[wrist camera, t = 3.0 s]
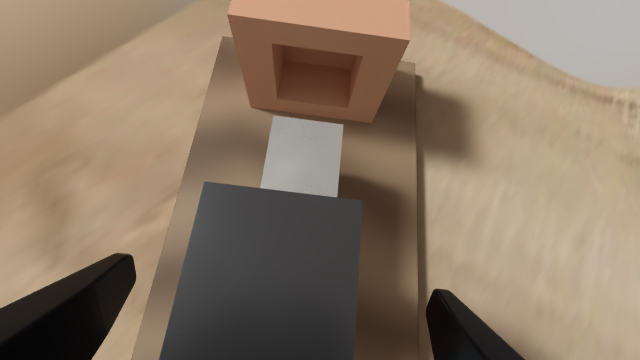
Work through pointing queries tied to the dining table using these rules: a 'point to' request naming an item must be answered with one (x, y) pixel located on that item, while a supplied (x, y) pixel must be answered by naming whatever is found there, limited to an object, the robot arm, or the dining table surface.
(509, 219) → the dining table surface
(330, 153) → the tube
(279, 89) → the socket block
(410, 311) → the base board
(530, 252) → the dining table surface
